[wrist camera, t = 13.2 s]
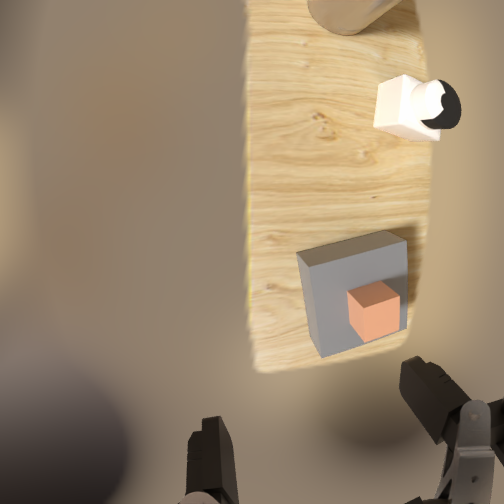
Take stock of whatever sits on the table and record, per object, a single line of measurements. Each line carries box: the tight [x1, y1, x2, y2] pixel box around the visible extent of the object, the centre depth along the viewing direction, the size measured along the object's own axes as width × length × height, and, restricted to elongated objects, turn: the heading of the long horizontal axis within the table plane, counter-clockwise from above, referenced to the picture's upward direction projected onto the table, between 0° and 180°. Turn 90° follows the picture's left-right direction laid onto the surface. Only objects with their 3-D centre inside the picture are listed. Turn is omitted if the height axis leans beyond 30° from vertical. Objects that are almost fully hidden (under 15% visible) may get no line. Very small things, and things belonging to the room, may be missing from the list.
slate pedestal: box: [296, 230, 408, 358], centre depth 41 cm, size 14×14×6 cm
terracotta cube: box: [347, 281, 400, 343], centre depth 36 cm, size 5×5×5 cm
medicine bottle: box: [373, 74, 461, 141], centre depth 31 cm, size 7×7×12 cm
